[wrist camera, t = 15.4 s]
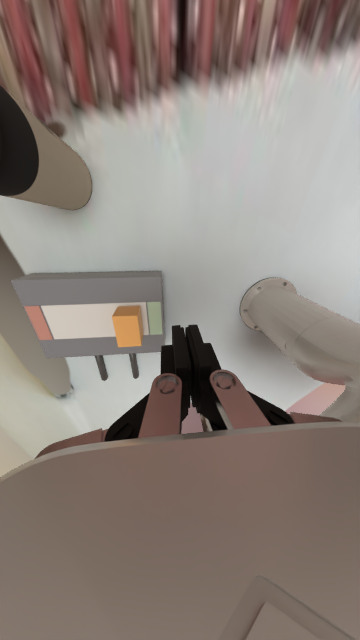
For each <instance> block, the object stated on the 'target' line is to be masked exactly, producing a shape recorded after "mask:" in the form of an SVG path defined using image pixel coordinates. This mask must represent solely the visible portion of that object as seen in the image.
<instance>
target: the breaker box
mask: <svg viewBox="0 0 360 640" xmlns="http://www.w3.org/2000/svg"><path fill="white" fill-rule="evenodd" d="M11 282H12V284H13V286H14V288H15V291H16V293H17V295H18V297H19V299H20V301H21V304H22V305H23V308H24V310H25V312H26V314H27V316H28V318H29V321H30V323H31V325H32V327H33V329H34V332H35V334H36V336H37V338H38V340H39V342H40V344H41V346H42V349H43V351H44V353H45V355H46V357H47V358H58V357H78V356H95V358H96V362H97V365H98V368H99V372H100V375H101V378H102V380H103V381H105V380H107V374H106V370H105V366H104V363H103V359H102V355H114V354H129V356H130V361H131V367H132V373H133V377H134V378H135V379H136V378H138V376H139V374H138V368H137V362H136V355H135V353H150V352H161V346H162V345H165V335H164V316H163V297H162V278H161V271H127V272H78V273H32V274H29V275H26V276H23V277H20V278H17V279H14V280H11ZM120 306H140V307H141V316H142V324H143V332H144V335H143V340H142V345H141V346H133V347H118V344H117V339H116V334H115V330H114V325H113V320H112V315H113V314H114V312H115V310H116V309H117V307H120Z"/></svg>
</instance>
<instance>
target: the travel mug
mask: <svg viewBox="0 0 360 640" xmlns="http://www.w3.org/2000/svg"><path fill="white" fill-rule="evenodd" d="M91 191H92V182H91V177H90V173H89V171H88V168H87V166H86V165H85V163H84V161H83V160H82V159H81V157H80V156H79V155H78V154H77V153H76V152H75V151H74V150H73V149H71V148H70V147H69V146H68V145H67V144H66V143H65V142H64V141H62V140H61V139H60V138H59V137H58V136H57V135H55V134H54V133H53V132H52V131H51V130H50V129H49V128H48V127H47V126H45V125H44V124H43V123H42V122H41V121H40V120H39V119H38V118H36V117H35V116H34V115H33V114H32V113H31V112H30V111H29V110H27V109H26V108H25V107H24V106H23V105H22V104H21V103H20V102H18V101H17V100H16V99H15V98H14V97H13V96H12V95H10V94H9V93H8V92H7V91H6V90H5V89H4V88H3V87H1V86H0V195H2V196H6V197H11V198H16V199H20V200H25V201H30V202H34V203H39V204H44V205H48V206H53V207H58V208H62V209H67V210H76V209H79V208H81V207H83V206H84V205H85V204H86V203H87V202H88V200H89V198H90V196H91Z"/></svg>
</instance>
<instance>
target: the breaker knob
mask: <svg viewBox="0 0 360 640" xmlns="http://www.w3.org/2000/svg"><path fill="white" fill-rule="evenodd" d="M112 320H113V325H114V330H115V334H116V339H117V344H118V347H133V346H141V345H142V340H143V335H144V332H143V324H142V316H141V307H140V306H120V307H117V309H116V310H115V312H114V314H113V315H112Z"/></svg>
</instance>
